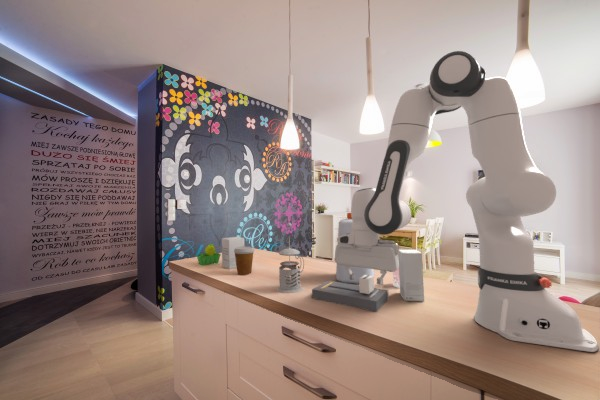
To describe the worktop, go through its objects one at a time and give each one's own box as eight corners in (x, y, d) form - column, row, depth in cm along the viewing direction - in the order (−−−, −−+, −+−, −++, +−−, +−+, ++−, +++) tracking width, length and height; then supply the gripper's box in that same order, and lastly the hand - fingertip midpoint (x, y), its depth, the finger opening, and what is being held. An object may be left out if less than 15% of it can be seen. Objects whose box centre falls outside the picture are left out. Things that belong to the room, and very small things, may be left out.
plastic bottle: (373, 285, 102) (371, 213, 103) (334, 282, 107) (333, 213, 107) (374, 275, 116) (373, 212, 117) (340, 273, 121) (339, 212, 122)
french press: (271, 288, 100) (270, 222, 101) (294, 282, 108) (294, 221, 108) (287, 295, 93) (286, 223, 93) (311, 288, 100) (310, 222, 101)
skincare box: (424, 302, 84) (423, 253, 85) (402, 301, 86) (401, 252, 86) (418, 293, 93) (417, 249, 93) (398, 292, 94) (397, 248, 94)
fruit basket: (216, 261, 153) (216, 241, 153) (222, 263, 146) (222, 243, 146) (195, 264, 145) (195, 243, 146) (201, 266, 138) (201, 245, 139)
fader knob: (373, 289, 87) (373, 275, 87) (368, 294, 82) (368, 279, 82) (364, 288, 88) (364, 274, 88) (359, 292, 84) (359, 277, 84)
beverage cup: (411, 288, 99) (410, 250, 99) (394, 288, 99) (393, 250, 99) (404, 283, 105) (404, 247, 105) (389, 283, 105) (388, 248, 105)
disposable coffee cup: (233, 271, 127) (233, 246, 127) (253, 270, 130) (253, 245, 130) (234, 276, 118) (234, 249, 118) (256, 274, 121) (255, 248, 121)
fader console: (387, 299, 87) (387, 289, 88) (376, 311, 77) (376, 300, 78) (328, 288, 100) (328, 279, 100) (312, 298, 90) (312, 288, 90)
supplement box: (237, 263, 144) (237, 236, 144) (245, 266, 137) (245, 237, 138) (221, 266, 138) (221, 237, 139) (228, 269, 131) (228, 239, 132)
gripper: (400, 239, 83) (401, 284, 82) (340, 235, 94) (340, 274, 94) (396, 242, 77) (396, 289, 77) (332, 237, 88) (332, 278, 88)
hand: (365, 281), depth 85 cm, fingers open, 8 cm apart
